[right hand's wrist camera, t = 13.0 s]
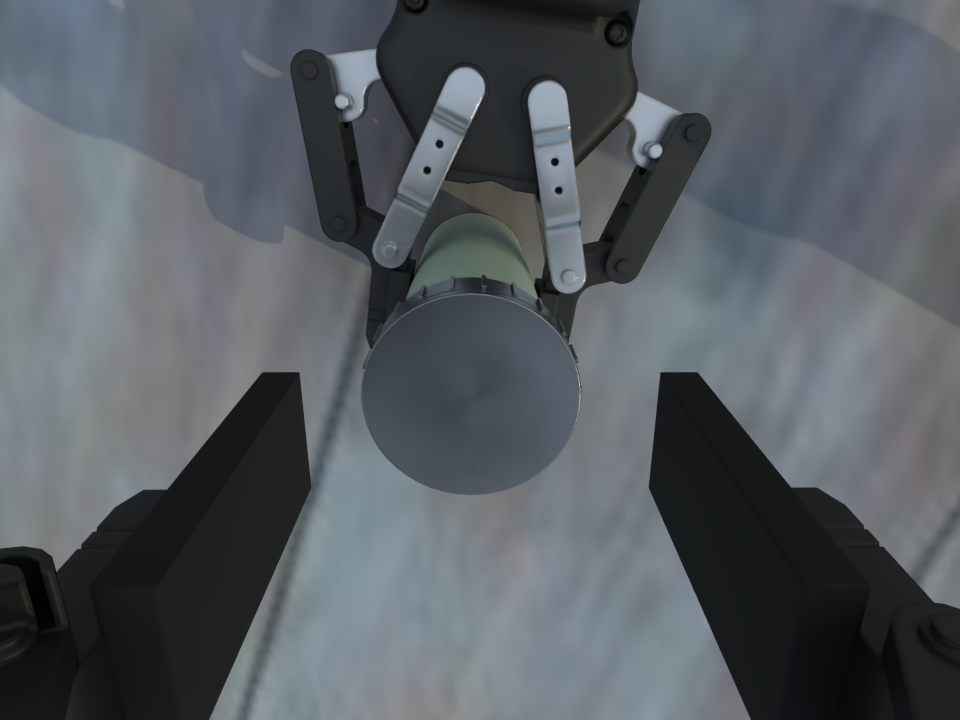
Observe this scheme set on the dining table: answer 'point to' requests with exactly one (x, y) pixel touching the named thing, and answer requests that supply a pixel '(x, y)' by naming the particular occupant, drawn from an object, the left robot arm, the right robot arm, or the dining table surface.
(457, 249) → the bottle
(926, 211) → the dining table surface
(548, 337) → the lid
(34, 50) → the dining table surface
